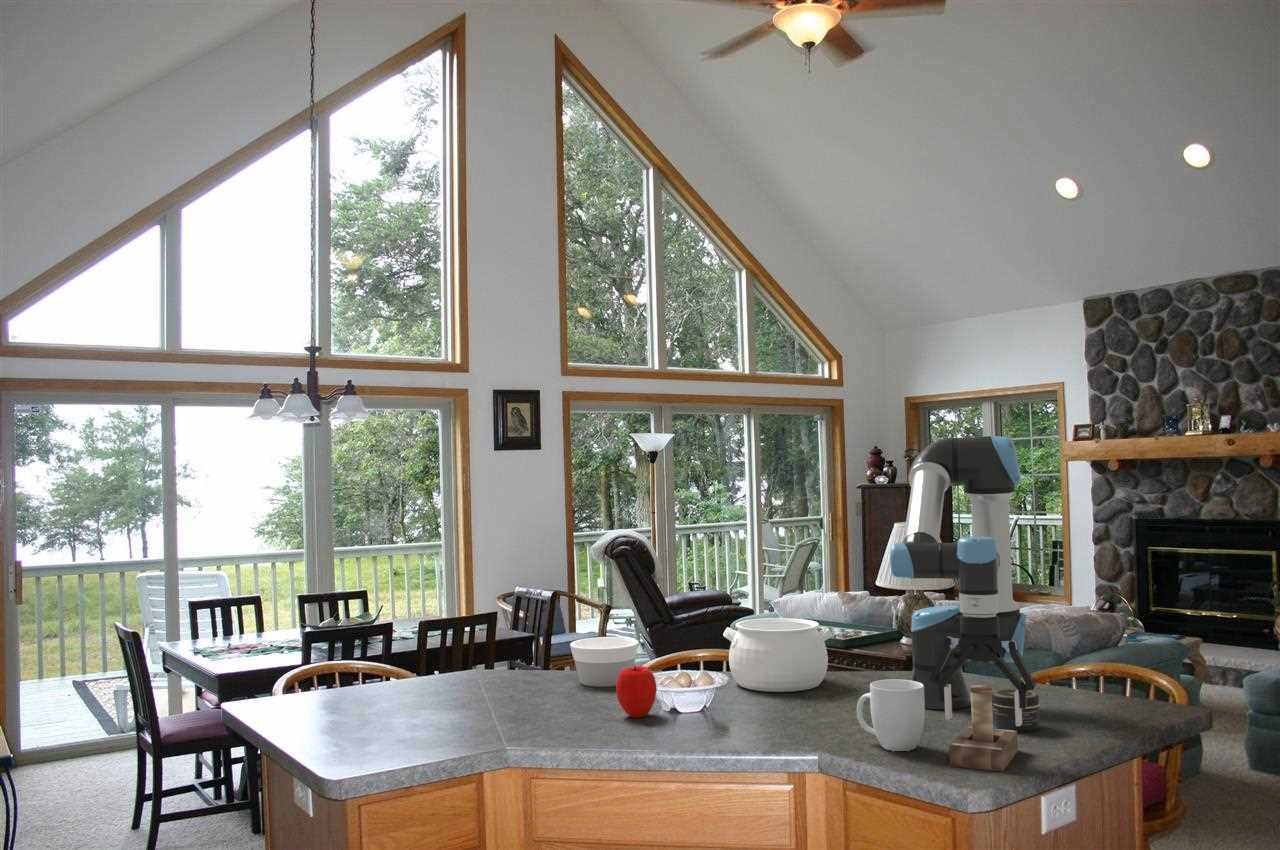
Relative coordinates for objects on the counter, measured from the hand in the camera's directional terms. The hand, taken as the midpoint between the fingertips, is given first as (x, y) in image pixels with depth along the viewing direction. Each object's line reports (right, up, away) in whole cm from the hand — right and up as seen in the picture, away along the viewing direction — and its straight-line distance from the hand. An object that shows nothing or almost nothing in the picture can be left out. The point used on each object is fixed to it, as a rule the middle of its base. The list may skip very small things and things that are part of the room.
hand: (983, 721), depth 213 cm
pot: (-31, -11, +74) cm, 81 cm away
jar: (+15, -8, +23) cm, 28 cm away
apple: (-69, -11, +43) cm, 82 cm away
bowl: (-78, -12, +84) cm, 116 cm away
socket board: (0, -7, 0) cm, 7 cm away
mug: (-15, -8, +10) cm, 20 cm away
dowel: (0, -7, 0) cm, 7 cm away
